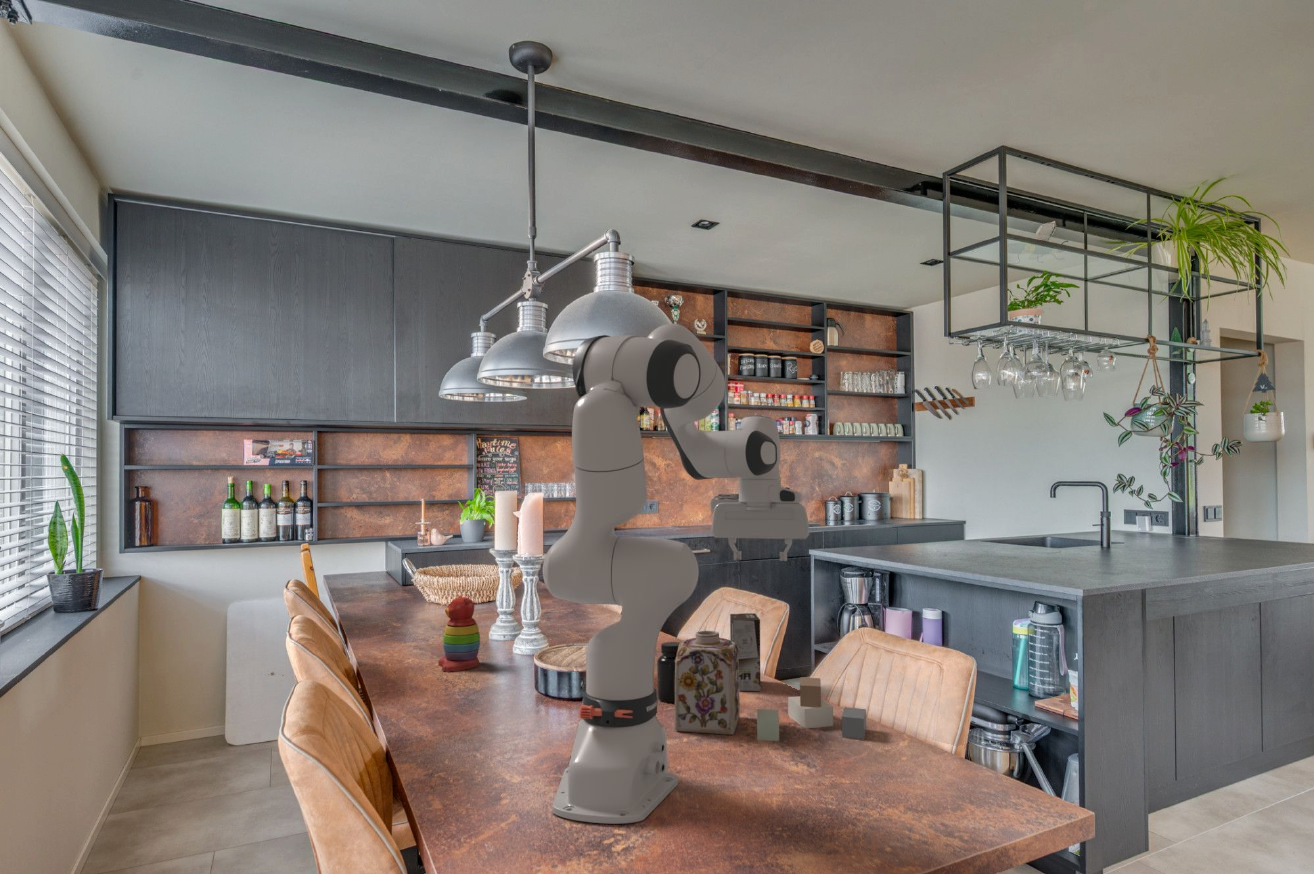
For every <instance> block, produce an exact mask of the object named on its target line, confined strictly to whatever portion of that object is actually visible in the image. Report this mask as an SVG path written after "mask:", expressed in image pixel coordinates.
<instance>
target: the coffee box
mask: <svg viewBox="0 0 1314 874" xmlns="http://www.w3.org/2000/svg"><path fill="white" fill-rule="evenodd" d="M729 631H730V632H729V637H730V638H729V640H730V641H732V642H735V643H736V645H737V648H738V651H739V653H738V654H739V655H738V656H739V692H744V691H745V692H750V691H751V692H760V691H761V620H760V618H759V616H758V615H757V613H753V612H752V613H751V612H750V613H749V612H748V613H745V612H744V613H730V614H729Z"/></svg>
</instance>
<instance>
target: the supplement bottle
mask: <svg viewBox="0 0 1314 874" xmlns="http://www.w3.org/2000/svg"><path fill="white" fill-rule="evenodd" d="M680 643H681V642H679V641H678V642H677V641H667V642H666V641H665V642H663V643H661V645H660V646H661V650H660V653H661V655H660V656H658V658H657V660H656V661H657V662H656V668H657V670H656V672H657V673H656V674H657V677H656V678H657V698H658V701H660V702H663V703H666V704H667V703H668V704H675V659H676V653H677V651H678V647H679V644H680Z"/></svg>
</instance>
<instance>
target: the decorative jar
mask: <svg viewBox="0 0 1314 874" xmlns="http://www.w3.org/2000/svg"><path fill="white" fill-rule="evenodd" d="M679 643H680V644H679V647H678V651H677V653H676V659H675V703H674V730H675V731H676V732H686V733H699V734H716V735H728V736H729V735H730V736H732V735H734V734H735V732H736V729H737V724H738V722H739V718H740V708H741V707H740V704H741V703H740V700H741V699H740V691H739V656H738V655H739V654H738V653H739V651H738V648H737V645H736V643H735V642H732V641H730V639H727V638H723V637H720V632H719V631H717V630H701V631H697V632H696V633H695V637H693V638H688V639H684V640H683V639H682V641H680V642H679Z"/></svg>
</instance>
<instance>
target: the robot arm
mask: <svg viewBox="0 0 1314 874" xmlns="http://www.w3.org/2000/svg"><path fill="white" fill-rule="evenodd" d="M576 349H577V350H575V351H576V352H575V354H574V356H573V359H572V379H573V384H574V387H575V391H576V394H577V397H578V398H579V399H578V400H577V401H576V403H575V405H574V407H573V408H574V409H573V413H572V426H571V446H572V447H571V448H572V453H571V454H572V462H573V472H574V479H575V480H574V481H575V503H576V504H575V511H574V512H575V513H574V517H573V519H572V522H571V525H570V527H569V528H568V530H567V531H566V532H565V533H564V534H563V536H561V538H559V539H558V540H556V541H555V542H554V544H552V545H551V547H550V548H549V549H548V550H547V552H546V554H545V557H544V560H543V564H542V578H543V581H544V585H545V588H546V589H547V590H548V592H549V594H551V596H552V597H553V598H555V599H560V600H562V601H568V602H570V603H576V604H580V605H581V604H582V605H611V606H612V605H615V606H620V607H621V611H622V612H621V616H620V619H619V620H618V621H616V622H615V623H612V624H611V625H608V626H605V627H604V628H602V629H600V630H599V631H598V632H596V633H595V634H594V635H593V636H592V637H591V638H590V640H589V641H588V643H587V645H586V646H587V647H586V650H585V651H586V652H585V655H586V657H585V658H586V659H585V662H586V663H585V666H586V667H585V668H586V669H585V671H586V672H585V674H586V675H585V676H586V677H585V682H586V683H585V685H586V686H585V687H586V688H585V690H584V691H583V698H582V701H581V702H582V703H581V705H580V708H579V718H580V721H579V722H578V723H577V726H578V727H577V731H576V734H575V735H576V736H575V739H574V743H573V747H572V752H571V754H570V756H569V764H568V766H567V767H566V768H565V769H564V771H563V773H562V774H563V775H562V777H561V780H560V783H559V786H558V788H557V791H556V794H555V796H554V799H553V802H552V808H551V813H553V814H554V815H556V816H557V817H558V816H559V817H562V818H565V819H567V820H572V821H577V822H585V823H595V824H596V823H597V824H614V825H615V824H617V825H619V824H620V825H621V824H632V823H639V822H641V821H644V820H645V819H646V818H647V817H648V816H649V815H650V814H651V813H652V812H653V811H654V810H655V809H656V808H657V807H658V806H659V805H660V804H661V803H662V801H663V800H664V799H665V798H666V797H667V796H668V795H669V794H670V793H671V792H672V791H673V790H674V789H675V788H676V787H677V786H678V785H679V778H678V776H677V775H676V774H675V773H673V772H670V771H669V762H668V761H669V759H668V743H667V741H668V740H667V739H668V738H667V730H666V728H665V726H664V725H663V724H662V723H661V722H660V720H659V719H658V717H657V713H658V701H659V699H658V690H657V689H656V688H655V665H656V664H655V663H656V653H657V651H656V649H657V644H658V639H659V635H660V633H661V630H662V628H663V626H664V624H665V622H666V621H667V619H668V618H669V617H670V616H671V614H672V613H673V612H674V611H675V610H676V609H677V608H678V607H680V606H681V605H682V604H683V603H685V602H686V601H687V600H688V599H689V598H690V597H691V596H692V594H693V593H694V591H695V589H696V587H697V584H698V582H699V573H700V572H699V565H698V560H697V558H696V555H695V554H694V551H693V550H692V548H691V547H690V546H688V544H687V543H685V542H682V541H677V540H673V539H669V538H663V537H650V536H649V537H647V536H646V537H641V536H640V537H639V536H638V537H634V536H632V537H630V536H623V537H622V536H619V535H616V531H615V529H616V528H618V527H619V526H621V525H623V524H625V523H628V522H630V521H631V520H633V519H634V518H636V517H637V516H638V515H639V514H640V513H641V512H642V511H643V509H644V508H645V506H646V503H647V500H648V491H647V481H646V480H647V478H646V467H645V456H644V447H643V445H644V444H643V439H642V433H641V429H640V424H639V420H638V418H639V414H640V410H641V408H659V411H660V416H661V419H662V421H663V423H664V426H665V428H666V429H667V431H668V433H669V436H670V437H671V439H672V441H673V443H674V445H675V448H676V449H677V451H678V453H679V458H680V461H681V465H682V467H683V469H684V470H685V472H686V473H687V474H688V475H689V476H690V477H691V478H692V479H693V480H697V481H701V480H702V481H703V480H711V479H736V478H737V479H738V493H729V494H727V493H726V494H724V493H718V494H717V495H716V496H714V497H712V499H711V500H710V511H711V513H712V519H711V520H712V522H711V534H712V536H713V537H714V538H716V539H728V542H727V543H728V546H729V547H730V548H731V550H732V552H733V561H742V555H743V554H742V550H738V549H737V547H736V545H735V544H736V543H737V539H774V540H775V539H776V540H780V539H781V540H782V539H783V540H784V544H785V545H786V547H785V549H784V551H779V554H778V555H779V562H787V560H788V552H789V550H790V548H791V547H792V545H793V540H806V539H807V538H808V537H809V536H810V525H809V518H808V512H807V510H806V507H805V506H804V505H803V504H802V503H801V502H803V493H802V492H800V491H797V490H794V489H791V488H790V487H783V486H782V483H781V481H782V480H781V479H782V478H781V474H780V470H779V469H780V464H781V463H780V462H781V442H780V435H779V434H780V433H779V429H778V423H777V421H776V420H775V419H773V418H772V417H769V416H764V415H749V416H745V417H743V418H742V419H741V421H740V427H739V428H737V429H733V430H713V431H712V430H711V431H709V430H702V429H699V428H698V427H697V425H696V423H695V422H698V421H702V420H704V419H706V418H708V417H709V416H711V414H712V413H714V412H715V411H716V410H717V409H718V407H719V406H720V404H721V403H722V401H723V399H724V396H725V392H726V379H725V375H724V373H723V371H722V369H721V367H720V366H719V364H718V363H717V361H716V359H715V358H714V356H713V355H712V354H711V352H710V351H709V350H708V348H707V347H706V346H705V345H704V343H702V341H701V340H700V339H699V338H698V337H697V336H696V335H695V334H694V333H693V332H692V331H690V330H689V329H688V328H687V327H686V326H684V325H681V324H678V323H667V324H663V325H660V326H658V327H657V328H655V329H654V330H652V331H651V332H650V333H649V334H648V335H647V337H643V336H640V335H628V334H627V335H626V334H625V335H612V336H611V335H607V334H603V335H596V336H593V337H590V338H587V339H584V340H583V341H582V342H581V343H580V344H579V346H578V348H576Z"/></svg>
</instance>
